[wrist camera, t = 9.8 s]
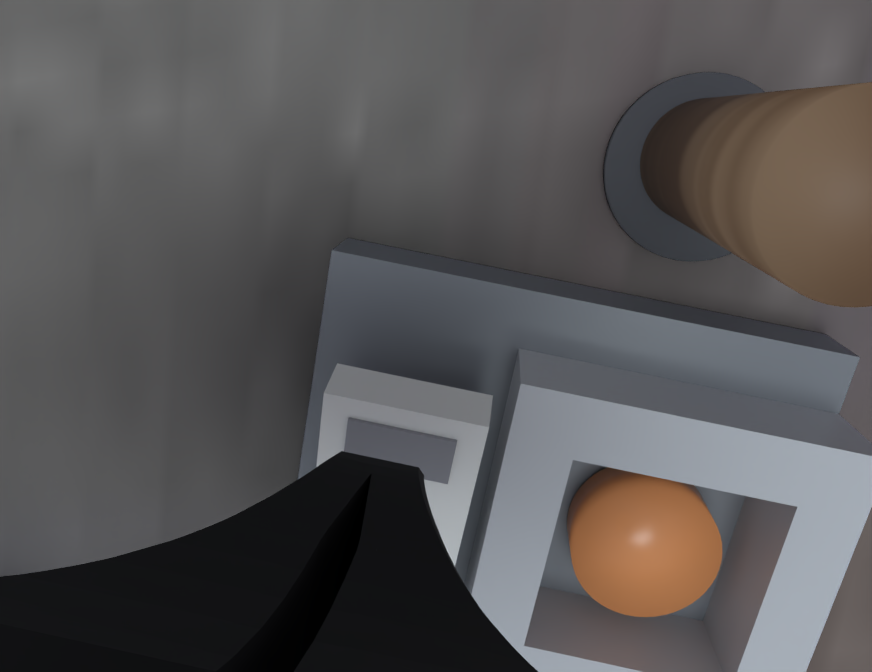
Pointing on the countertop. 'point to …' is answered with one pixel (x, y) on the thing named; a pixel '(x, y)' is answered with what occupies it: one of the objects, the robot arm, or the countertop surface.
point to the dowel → (775, 183)
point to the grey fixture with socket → (620, 450)
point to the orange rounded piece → (642, 542)
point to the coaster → (625, 176)
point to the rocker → (411, 435)
